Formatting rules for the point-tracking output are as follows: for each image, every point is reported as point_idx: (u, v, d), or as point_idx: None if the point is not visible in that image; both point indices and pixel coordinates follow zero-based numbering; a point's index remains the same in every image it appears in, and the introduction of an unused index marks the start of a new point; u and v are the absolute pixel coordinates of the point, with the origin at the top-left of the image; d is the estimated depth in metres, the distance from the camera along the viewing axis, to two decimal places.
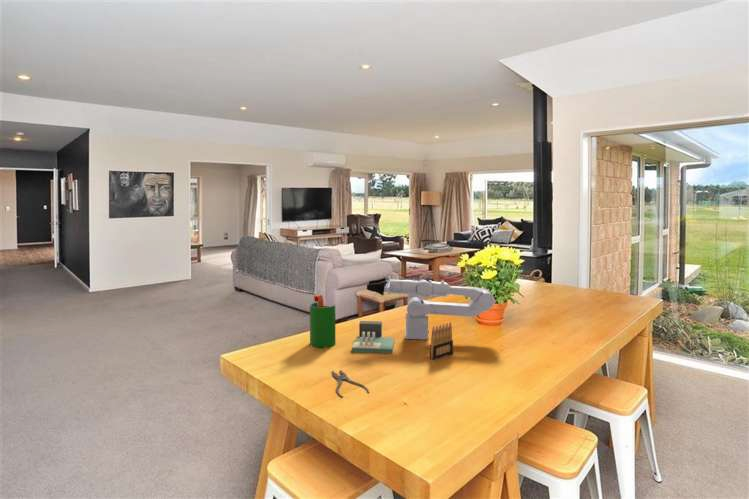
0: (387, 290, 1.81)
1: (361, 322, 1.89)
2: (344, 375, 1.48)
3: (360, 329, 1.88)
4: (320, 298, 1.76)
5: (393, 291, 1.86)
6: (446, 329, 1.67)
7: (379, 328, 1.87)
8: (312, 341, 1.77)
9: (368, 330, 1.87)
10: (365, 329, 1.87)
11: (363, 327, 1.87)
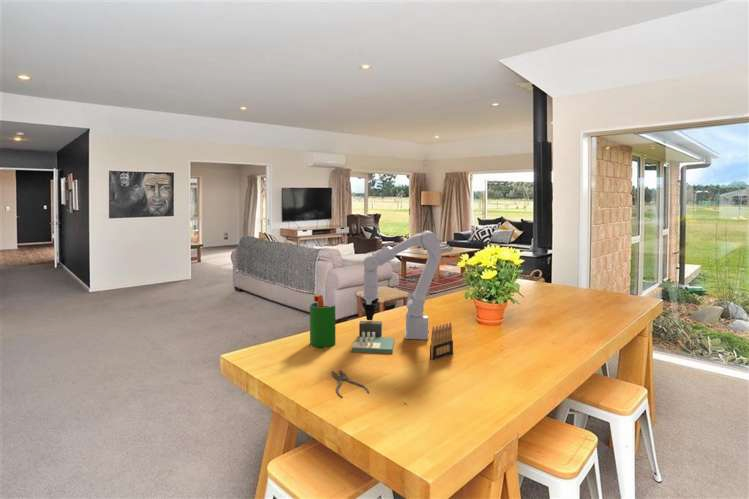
0: (369, 301, 1.80)
1: (361, 322, 1.89)
2: (344, 375, 1.48)
3: (360, 329, 1.88)
4: (320, 298, 1.76)
5: (374, 293, 1.85)
6: (446, 329, 1.67)
7: (379, 328, 1.87)
8: (312, 341, 1.77)
9: (368, 330, 1.87)
10: (365, 329, 1.87)
11: (363, 327, 1.87)
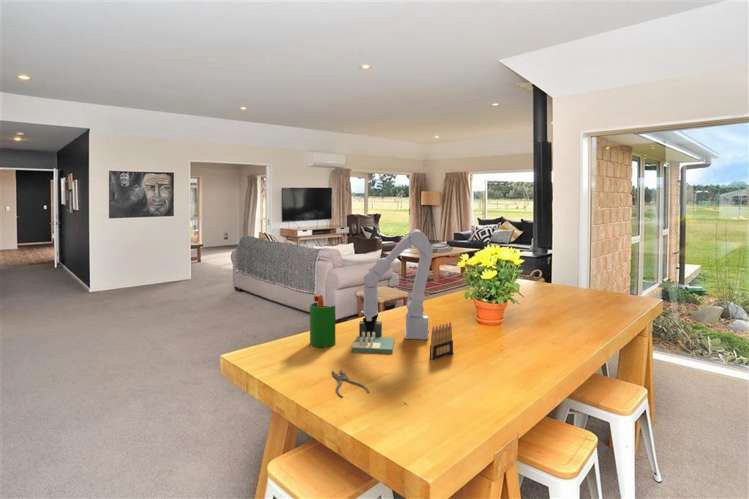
0: (369, 317, 1.81)
1: (361, 322, 1.89)
2: (344, 375, 1.48)
3: (360, 329, 1.88)
4: (320, 298, 1.76)
5: (374, 309, 1.86)
6: (446, 329, 1.67)
7: (379, 328, 1.87)
8: (312, 341, 1.77)
9: None
10: (365, 329, 1.87)
11: (363, 327, 1.87)
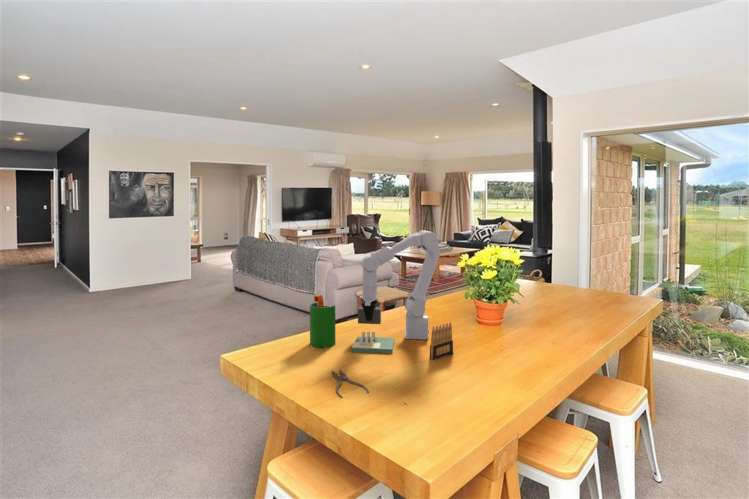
0: (368, 302, 1.77)
1: (360, 307, 1.85)
2: (344, 375, 1.48)
3: (359, 314, 1.83)
4: (320, 298, 1.76)
5: (373, 294, 1.81)
6: (446, 329, 1.67)
7: (378, 313, 1.82)
8: (312, 341, 1.77)
9: None
10: (364, 314, 1.83)
11: (361, 312, 1.83)
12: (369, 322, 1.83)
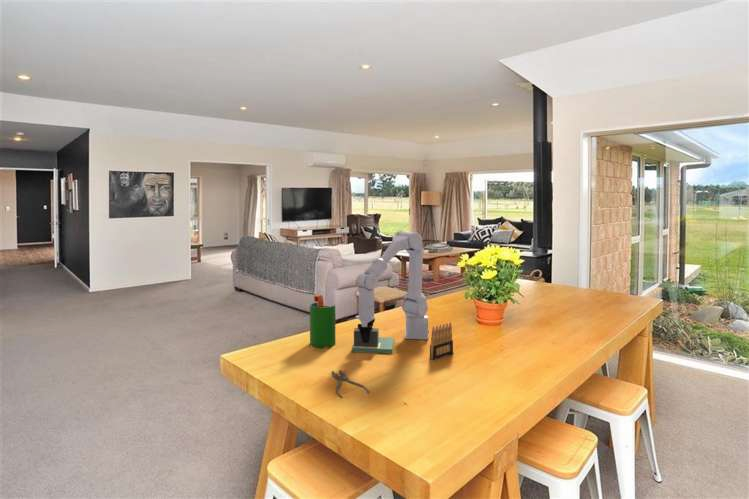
0: (365, 323, 1.66)
1: (356, 329, 1.73)
2: (344, 375, 1.48)
3: (355, 337, 1.72)
4: (320, 298, 1.76)
5: (370, 314, 1.70)
6: (446, 329, 1.67)
7: (375, 336, 1.71)
8: (312, 341, 1.77)
9: None
10: (360, 337, 1.72)
11: (358, 334, 1.72)
12: (366, 345, 1.72)
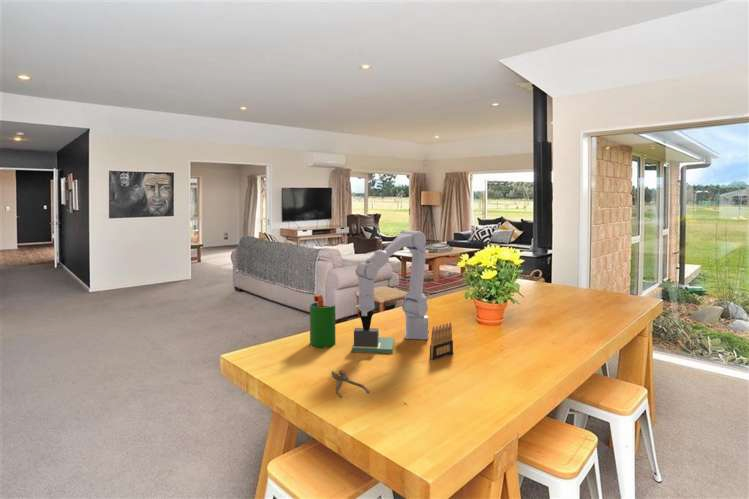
0: (365, 312, 1.65)
1: (356, 329, 1.73)
2: (344, 375, 1.48)
3: (355, 337, 1.72)
4: (320, 298, 1.76)
5: (370, 303, 1.70)
6: (446, 329, 1.67)
7: (375, 336, 1.71)
8: (312, 341, 1.77)
9: (363, 338, 1.72)
10: (360, 337, 1.72)
11: (358, 334, 1.72)
12: (366, 345, 1.72)
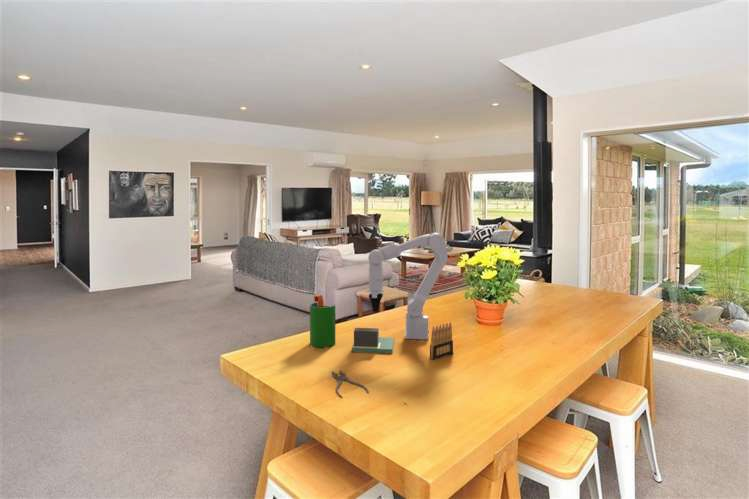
0: (375, 295, 1.82)
1: (356, 329, 1.73)
2: (344, 375, 1.48)
3: (355, 337, 1.72)
4: (320, 298, 1.76)
5: (379, 287, 1.86)
6: (446, 329, 1.67)
7: (375, 336, 1.71)
8: (312, 341, 1.77)
9: (363, 338, 1.72)
10: (360, 337, 1.72)
11: (358, 334, 1.72)
12: (366, 345, 1.72)
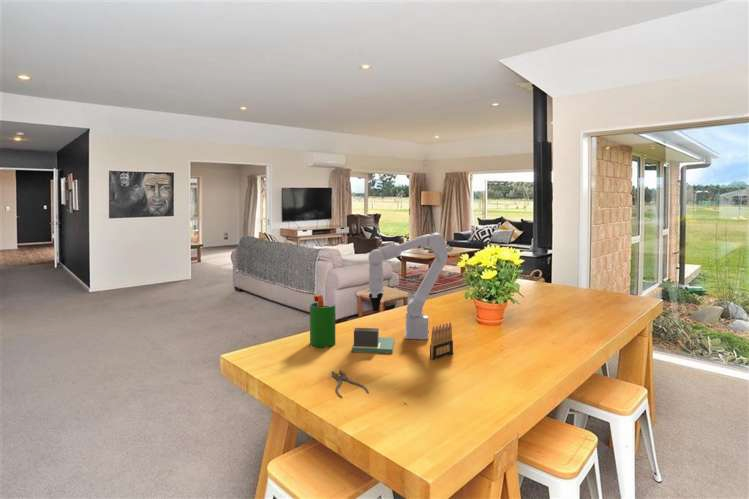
0: (375, 294, 1.82)
1: (356, 329, 1.73)
2: (344, 375, 1.48)
3: (355, 337, 1.72)
4: (320, 298, 1.76)
5: (379, 286, 1.86)
6: (446, 329, 1.67)
7: (375, 336, 1.71)
8: (312, 341, 1.77)
9: (363, 338, 1.72)
10: (360, 337, 1.72)
11: (358, 334, 1.72)
12: (366, 345, 1.72)
